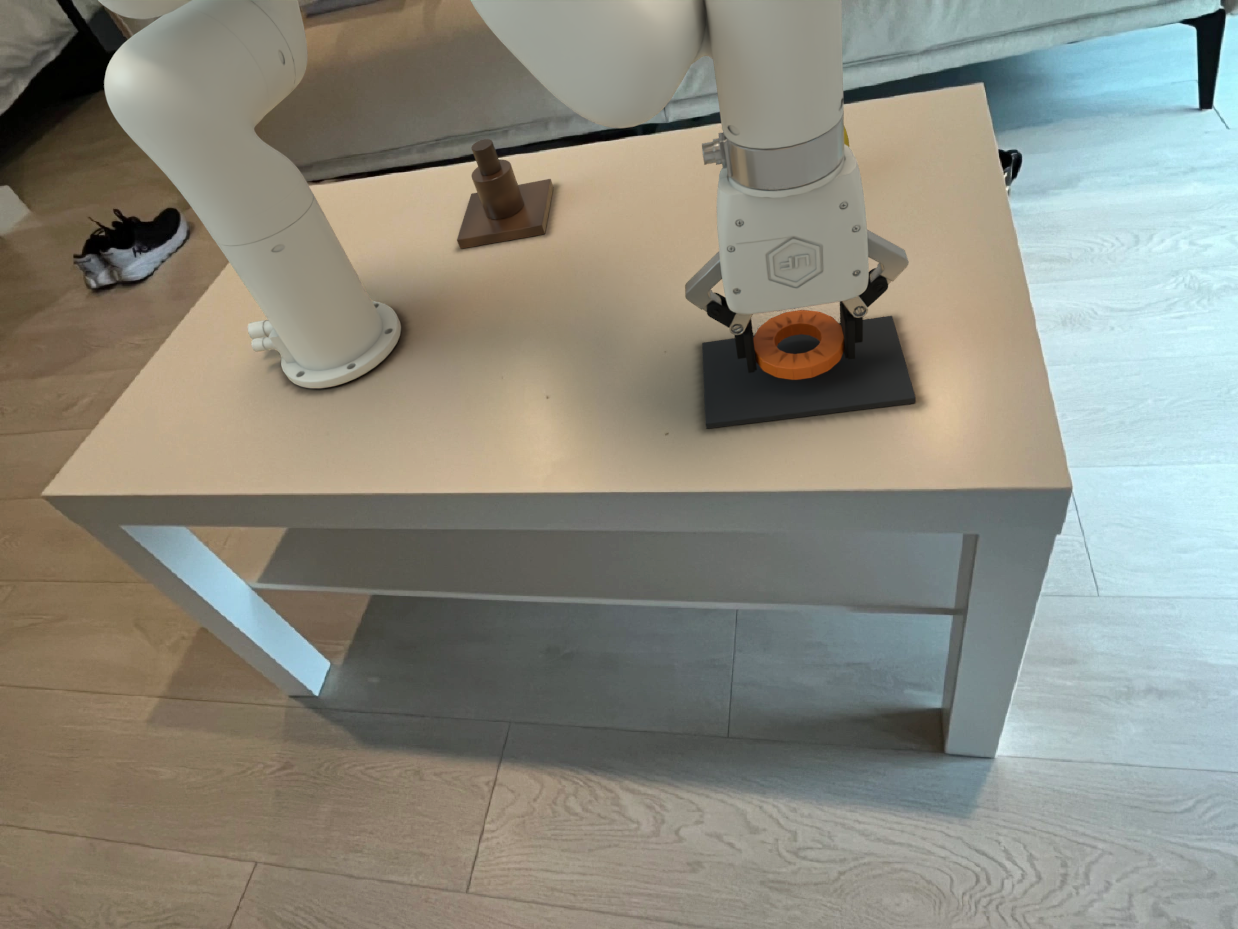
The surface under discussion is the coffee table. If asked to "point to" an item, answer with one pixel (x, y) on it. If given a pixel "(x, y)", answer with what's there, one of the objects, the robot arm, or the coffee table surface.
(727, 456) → the coffee table surface
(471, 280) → the coffee table surface
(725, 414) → the mat
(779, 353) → the orange flat ring
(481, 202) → the brown stepped peg stand
